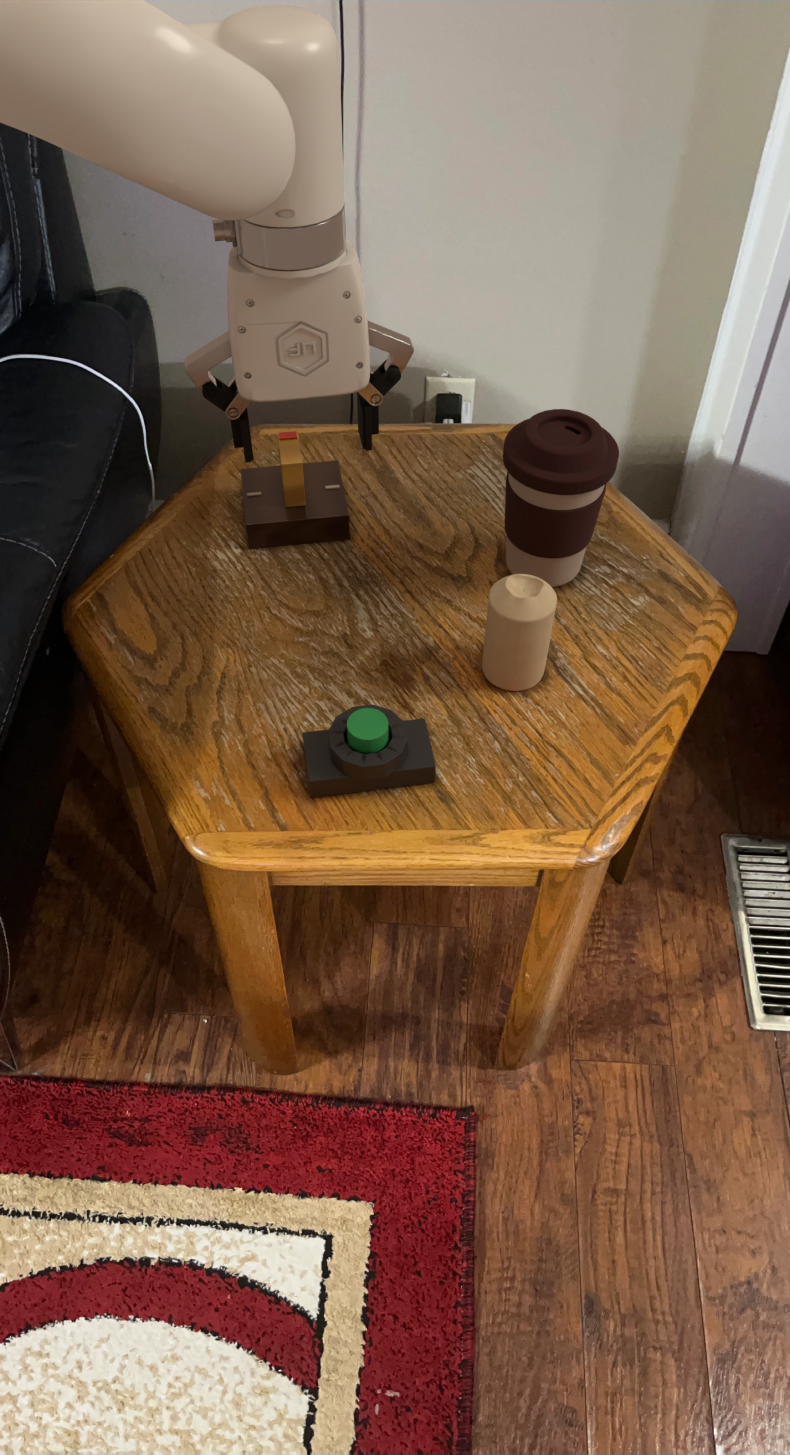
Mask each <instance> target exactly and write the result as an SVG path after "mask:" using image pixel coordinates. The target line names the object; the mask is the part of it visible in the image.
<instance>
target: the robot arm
mask: <svg viewBox="0 0 790 1455" xmlns="http://www.w3.org/2000/svg"><path fill="white" fill-rule="evenodd" d="M340 63H341V62H340V47H339V41H338V37H337V34H336V32H335V29H334V28H333V26H332V25H331V23H330V22H329V21H328V19H326V18H325V17H324V16H323V15H321V14H320V13H317V12H316V11H313V10H310V9H307V8H303V7H299V6H291V5H262V6H255V7H249V8H245V9H242V10H240V11H237V12H235V13H232V14H230V15H229V16H227V17H226V18H224V19H223V20H217V21H205V22H189V23H182V22H180V21H179V20H177V19H175V18H174V17H172V16H171V15H169V14H167V13H165V12H164V11H163V10H161V9H159V8H158V7H156V6H154V5H153V4H151V3H149V2H147V1H146V0H0V124H3V125H5V126H8V127H10V128H14V129H16V130H19V131H21V132H24V133H26V134H29V135H30V136H33V137H36V138H38V139H41V140H43V141H45V142H47V143H49V144H52V145H54V146H56V147H58V148H59V149H63V150H65V151H67V152H68V153H71V154H73V155H76V156H77V157H79V158H81V159H84V160H86V161H88V162H90V163H92V164H94V165H96V166H98V167H100V168H102V169H105V170H107V171H110V172H112V173H114V174H115V175H118V176H120V177H122V178H124V179H125V180H126V179H127V180H128V181H130V182H133V183H135V184H138V185H140V186H141V187H144V188H146V189H148V190H150V191H152V192H155V193H157V194H160V195H162V196H163V197H166V198H168V199H170V200H173V201H175V202H177V203H179V204H181V205H183V206H185V207H188V208H190V209H192V210H195V211H197V212H199V213H201V214H203V215H206V216H209V217H210V218H214V219H211V221H212V222H211V223H212V228H213V236H214V242H224V241H225V243H231V244H232V247H231V249H230V250H229V253H228V262H227V272H226V273H227V274H226V296H227V306H226V307H227V323H228V324H227V325H228V330H227V331H225V332H224V333H222V334H221V335H219V336H217V337H216V338H213V339H212V340H211V341H209V342H208V343H206V344H204V345H203V346H201V347H200V348H198V349H196V350H195V351H193V352H191V353H190V354H188V355H186V357H185V358H184V360H183V362H184V372H185V374H186V375H187V377H188V378H189V379H190V380H191V381H192V383H193V384H194V385H195V387H196V388H197V389H198V390H199V391H200V392H201V393H202V396H203V398H204V399H205V400H207V401H208V402H209V403H211V404H212V405H214V406H215V407H217V408H218V409H220V410H221V411H222V412H224V413H225V417H226V418H228V419H229V420H230V428H231V433H232V440H233V441H232V442H233V448H234V449H243V456H244V463H245V464H247V463H252V461H254V460H255V459H254V451H253V450H254V449H253V442H252V435H251V434H252V433H251V427H250V419H249V413H248V407H249V406H250V404H252V402H253V403H271V402H272V403H273V402H283V401H295V400H306V399H316V398H317V399H318V398H327V397H335V396H344V395H352V394H354V393H356V408H357V409H356V410H357V431H358V435H359V439H360V443H361V446H362V450H365V451H373V435H379V434H380V412H379V411H380V407H379V406H380V405H382V404H383V402H384V397H385V396H386V395H387V393H389V392H390V391H391V390H392V389H393V388H394V387H395V385H396V384H398V383H399V382H400V380H401V378H402V373H403V372H404V370H405V369H406V367H407V365H408V363H409V361H410V359H411V358H412V356H413V354H414V352H415V348H414V346H413V342H412V339H411V338H410V337H408V336H407V335H404V334H402V333H400V332H397V331H394V330H392V329H389V328H387V327H385V326H383V325H380V324H377V323H375V322H372V321H370V320H368V313H367V311H368V310H367V301H366V293H365V285H364V279H363V278H364V277H363V273H362V267H361V263H360V259H359V254H358V252H357V250H356V249H355V246H354V245H353V243H352V242H351V241H350V240H349V239H347V234H346V208H345V206H346V204H345V185H344V184H345V183H344V182H345V181H344V180H345V179H344V152H343V151H344V149H343V147H344V146H343V120H342V119H343V118H342V96H341V95H342V93H341V92H342V90H341V89H342V88H341V67H340V66H341V65H340ZM370 347H373V348H376V349H378V350H380V351H383V352H386V353H388V357H387V358H386V359H385V360H384V361H382V363H381V364H380V365H379V366H378V367H377V368H376V369H375V370H374V371H372V370H371V355H370V354H371V353H370ZM230 358H231V364H232V372H233V377H232V379H231V380H230V381H229V382H228V384H226V383H224V382H223V381H222V380H220V379H219V378H218V377H216V376H215V375H213V374H212V373H211V369H214V368H215V367H216V366H218V365H220V364H221V363H223V362H225V361H226V360H228V359H230Z"/></svg>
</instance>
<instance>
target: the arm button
mask: <svg viewBox="0 0 790 1455" xmlns="http://www.w3.org/2000/svg"><path fill="white" fill-rule="evenodd" d="M347 738H348V743H349V745H350V746H351V747H352V748H353V749H354V750H356V751H357V752H360V753H365V754H371V753H375V752H378V751H380V750H381V749H383V748H384V747H385V746H386V744H387V742H388V719H387V717H386V716H385V715H384V714H383V713H382V712H381V711H379V710H377V709H373V708H363V709H359V710H357V711H355V712H353V713H352V714H351V715H350V716H349V718H348V720H347Z"/></svg>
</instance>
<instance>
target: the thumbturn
mask: <svg viewBox="0 0 790 1455" xmlns="http://www.w3.org/2000/svg"><path fill="white" fill-rule="evenodd" d="M277 447H278V455H279V465H280V466H281V476H282V484H283V492H284V500H285V507H293V506H304V505H306V502H305V490H304V478H303V466H302V463H303V458H302V452H301V445H300V437H299V432H297V430H295V431H294V430H291V431H282V432H281V431H280V432H278V433H277Z"/></svg>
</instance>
